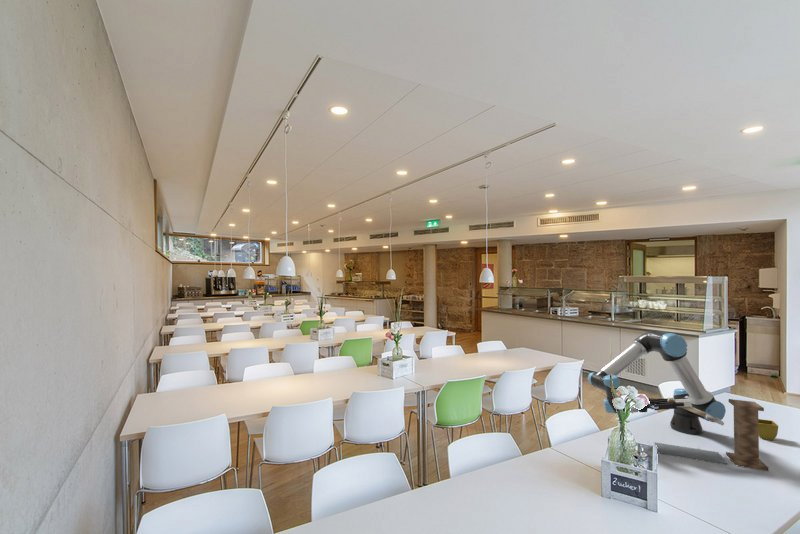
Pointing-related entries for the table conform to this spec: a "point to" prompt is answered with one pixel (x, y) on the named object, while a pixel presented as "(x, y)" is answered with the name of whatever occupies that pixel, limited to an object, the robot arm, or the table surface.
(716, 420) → the bar
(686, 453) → the mat
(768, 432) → the flower pot
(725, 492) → the table surface
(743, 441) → the pedestal
